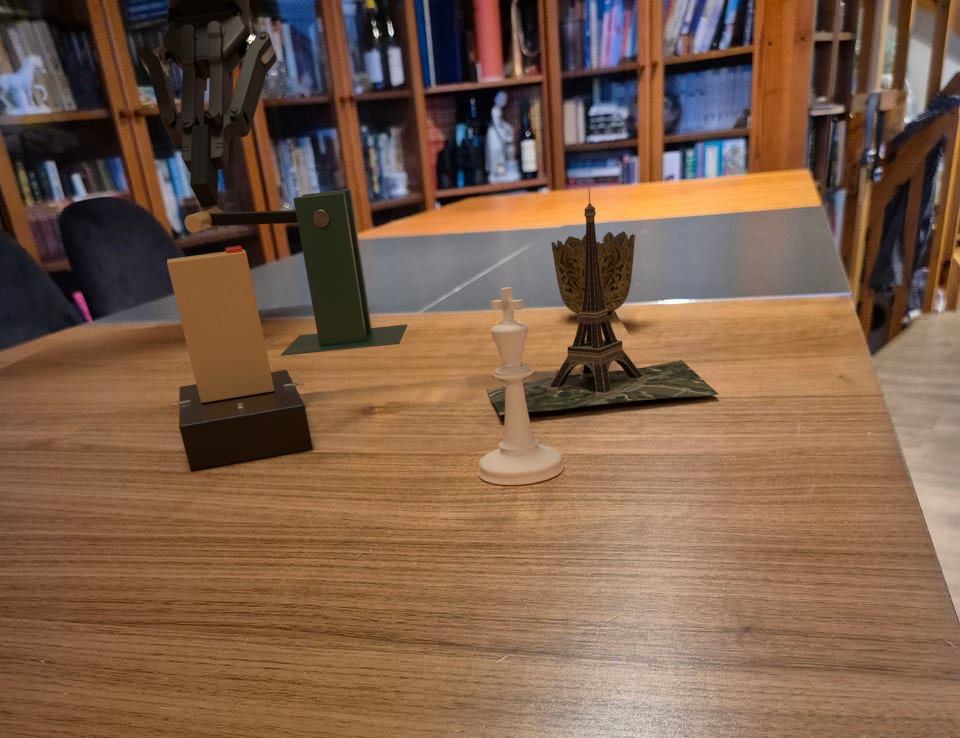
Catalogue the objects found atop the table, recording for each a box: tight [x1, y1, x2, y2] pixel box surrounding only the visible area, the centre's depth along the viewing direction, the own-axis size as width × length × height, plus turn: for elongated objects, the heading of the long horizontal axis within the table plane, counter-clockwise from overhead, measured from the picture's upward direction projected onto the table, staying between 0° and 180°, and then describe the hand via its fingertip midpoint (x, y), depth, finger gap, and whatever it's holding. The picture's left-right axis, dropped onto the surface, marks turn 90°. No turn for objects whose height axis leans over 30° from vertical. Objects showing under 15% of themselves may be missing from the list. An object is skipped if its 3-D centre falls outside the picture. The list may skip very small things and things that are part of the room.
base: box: [168, 369, 314, 472], centre depth 65 cm, size 12×9×3 cm
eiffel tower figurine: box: [486, 187, 720, 416], centre depth 63 cm, size 15×10×13 cm
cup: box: [551, 230, 636, 322], centre depth 85 cm, size 8×7×8 cm
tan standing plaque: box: [166, 245, 274, 403], centre depth 62 cm, size 5×2×9 cm, turn 106°
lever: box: [184, 207, 298, 234], centre depth 84 cm, size 13×8×2 cm, turn 89°
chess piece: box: [478, 286, 565, 486], centre depth 51 cm, size 5×5×10 cm
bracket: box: [280, 188, 408, 357], centre depth 86 cm, size 11×9×14 cm
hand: (204, 195), depth 83 cm, fingers closed
